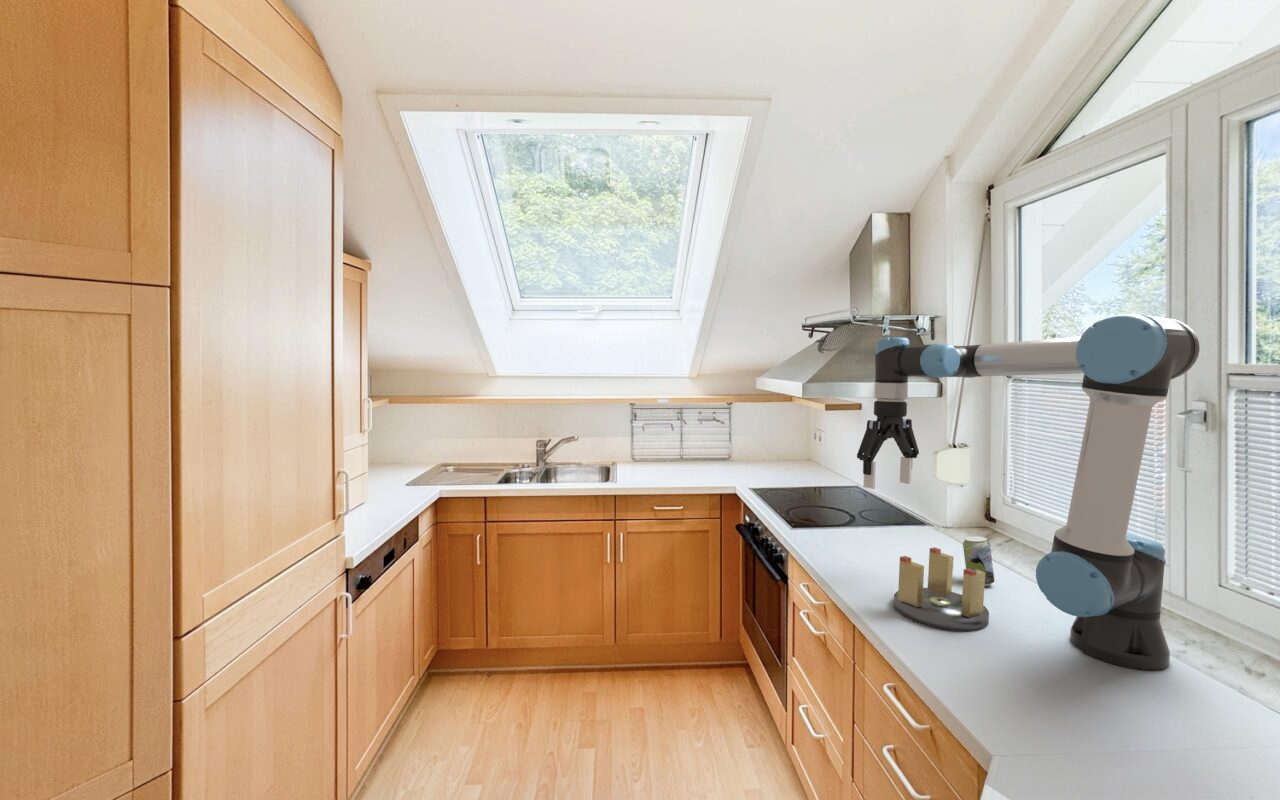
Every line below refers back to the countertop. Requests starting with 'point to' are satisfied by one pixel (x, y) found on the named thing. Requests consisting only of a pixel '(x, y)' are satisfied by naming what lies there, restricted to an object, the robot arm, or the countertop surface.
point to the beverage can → (979, 556)
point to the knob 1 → (910, 582)
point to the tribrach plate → (942, 612)
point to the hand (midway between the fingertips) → (887, 485)
